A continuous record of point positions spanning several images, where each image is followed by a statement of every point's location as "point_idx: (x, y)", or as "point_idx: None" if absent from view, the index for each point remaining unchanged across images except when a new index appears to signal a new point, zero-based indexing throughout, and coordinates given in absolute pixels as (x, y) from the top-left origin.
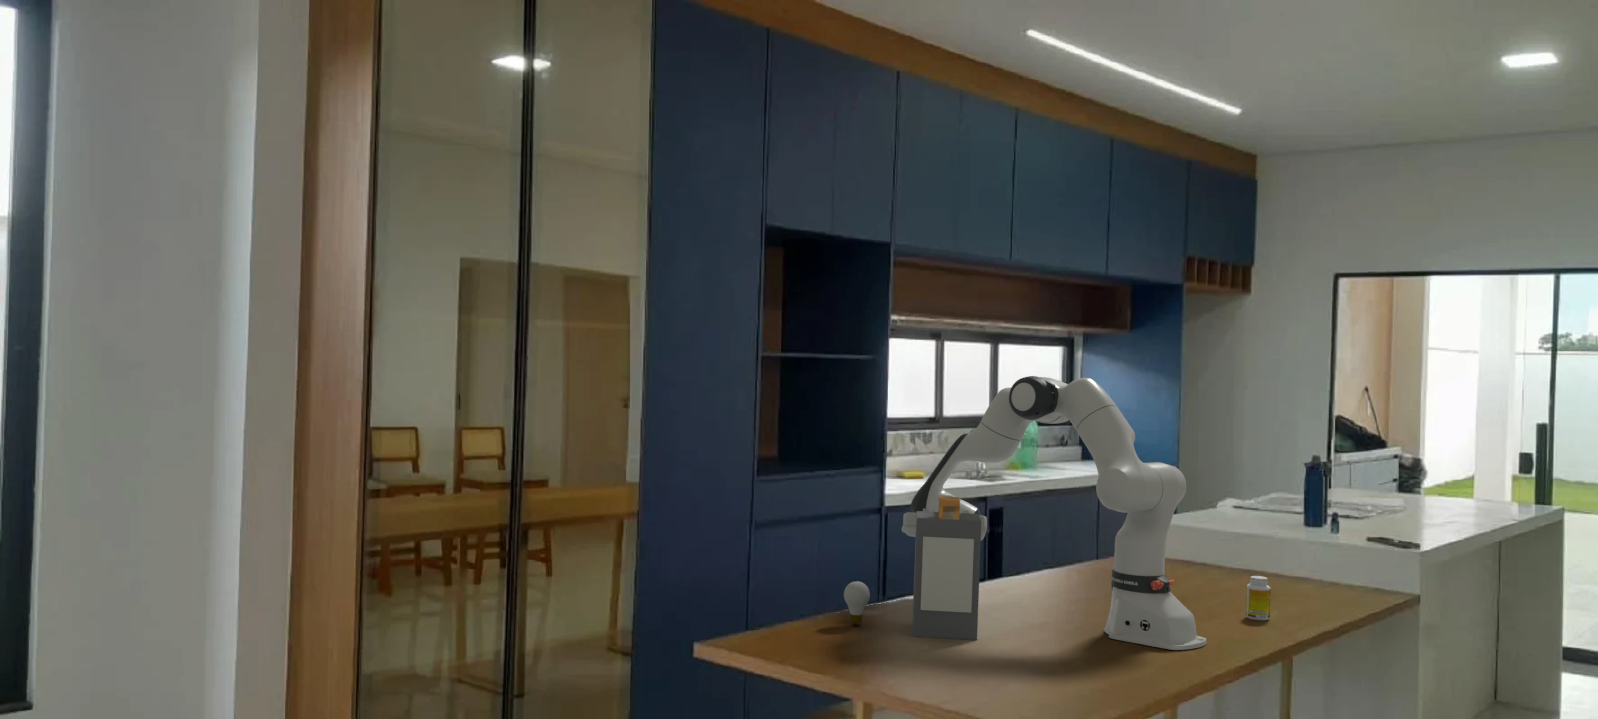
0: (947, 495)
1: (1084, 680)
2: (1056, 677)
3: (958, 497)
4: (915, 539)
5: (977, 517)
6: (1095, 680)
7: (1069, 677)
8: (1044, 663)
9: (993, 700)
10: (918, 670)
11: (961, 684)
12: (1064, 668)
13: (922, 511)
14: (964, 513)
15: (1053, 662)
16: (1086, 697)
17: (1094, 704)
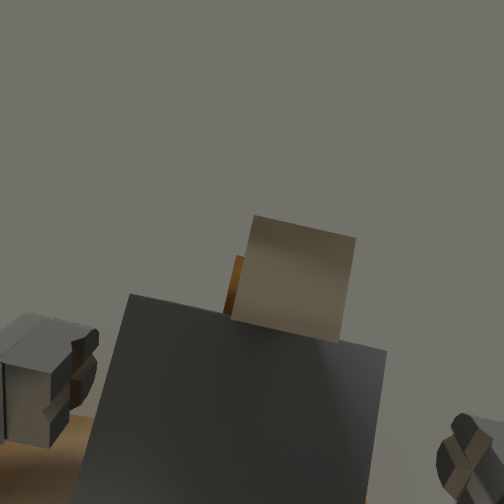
0: (293, 225)
1: (40, 449)
2: (70, 459)
3: (238, 256)
4: (367, 481)
5: (163, 300)
6: (24, 447)
7: (51, 457)
8: (39, 496)
9: None
10: None
11: None
12: (25, 478)
13: (360, 345)
14: (187, 306)
15: (17, 498)
16: (82, 426)
17: (88, 419)
